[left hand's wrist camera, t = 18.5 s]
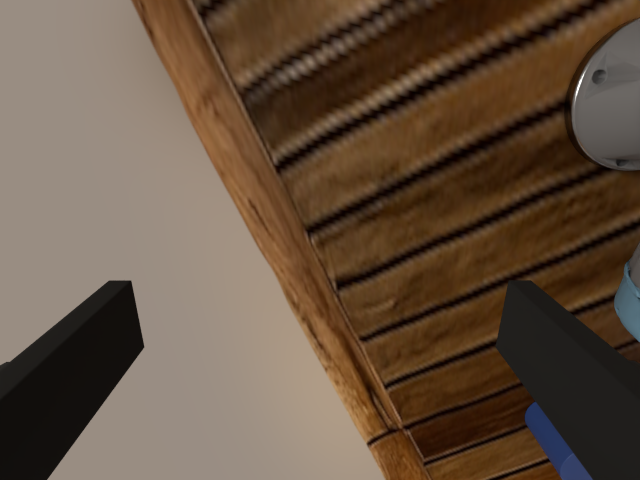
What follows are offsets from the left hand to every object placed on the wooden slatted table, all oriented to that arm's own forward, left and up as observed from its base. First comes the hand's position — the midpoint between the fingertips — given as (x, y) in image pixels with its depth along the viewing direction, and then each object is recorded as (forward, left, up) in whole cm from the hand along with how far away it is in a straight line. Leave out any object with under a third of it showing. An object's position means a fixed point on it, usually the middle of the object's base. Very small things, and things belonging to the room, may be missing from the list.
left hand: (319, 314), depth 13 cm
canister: (-12, +48, -31) cm, 58 cm away
